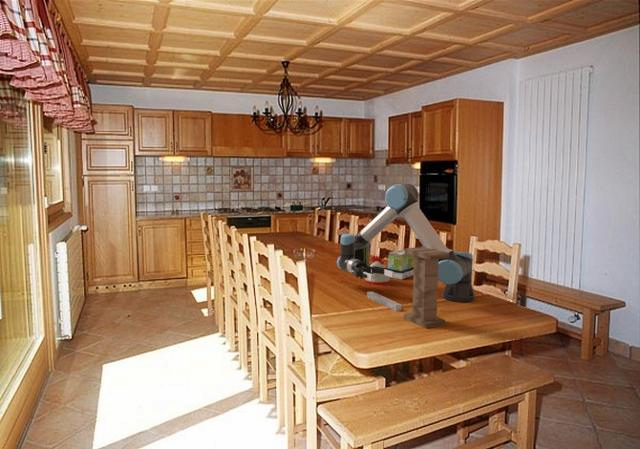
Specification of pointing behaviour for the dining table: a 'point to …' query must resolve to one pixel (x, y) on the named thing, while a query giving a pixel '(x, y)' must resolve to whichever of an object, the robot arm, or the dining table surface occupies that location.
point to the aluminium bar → (384, 301)
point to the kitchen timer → (378, 278)
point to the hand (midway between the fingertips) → (382, 276)
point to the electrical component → (363, 254)
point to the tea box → (401, 264)
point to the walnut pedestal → (425, 286)
